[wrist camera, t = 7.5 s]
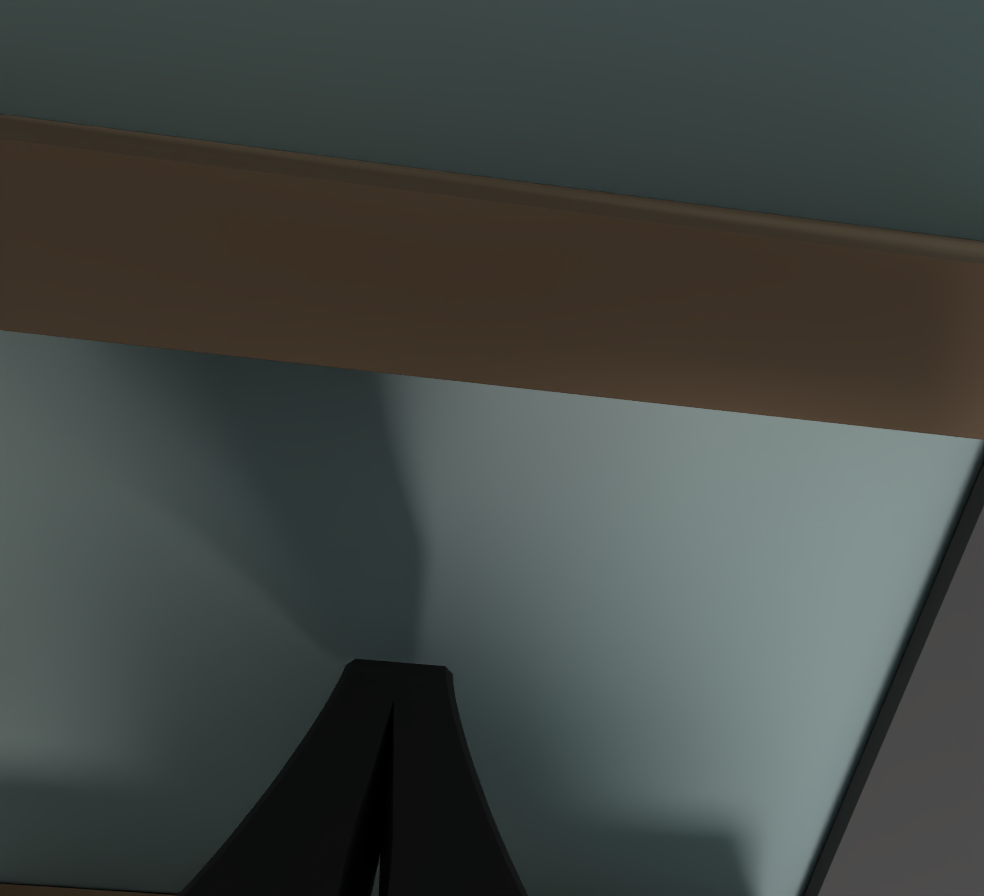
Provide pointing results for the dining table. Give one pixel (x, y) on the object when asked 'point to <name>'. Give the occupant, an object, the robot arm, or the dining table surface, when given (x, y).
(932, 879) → the pad
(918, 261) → the channel
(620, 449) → the dining table surface
